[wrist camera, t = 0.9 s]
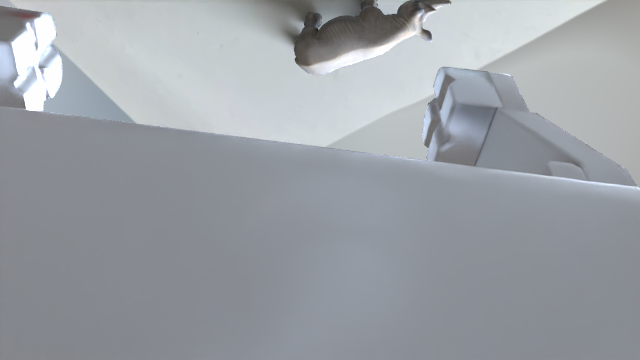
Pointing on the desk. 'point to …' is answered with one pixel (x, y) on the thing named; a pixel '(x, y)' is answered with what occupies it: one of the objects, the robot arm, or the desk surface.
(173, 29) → the desk surface
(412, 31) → the rhino figurine
